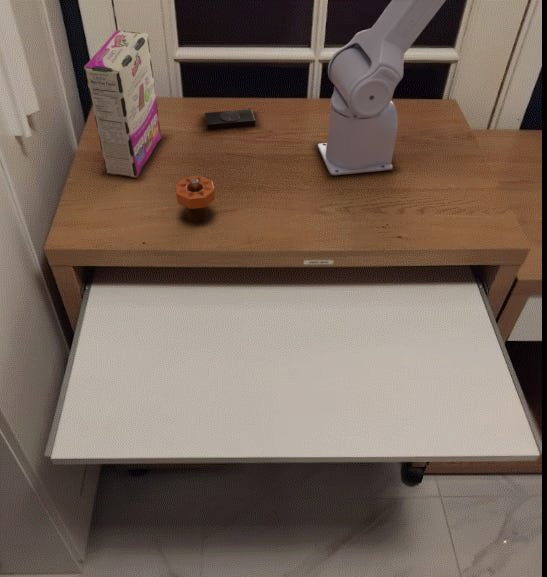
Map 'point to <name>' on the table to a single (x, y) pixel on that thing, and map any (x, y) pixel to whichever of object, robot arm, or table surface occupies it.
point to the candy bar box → (124, 102)
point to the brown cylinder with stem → (196, 213)
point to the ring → (195, 193)
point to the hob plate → (229, 119)
